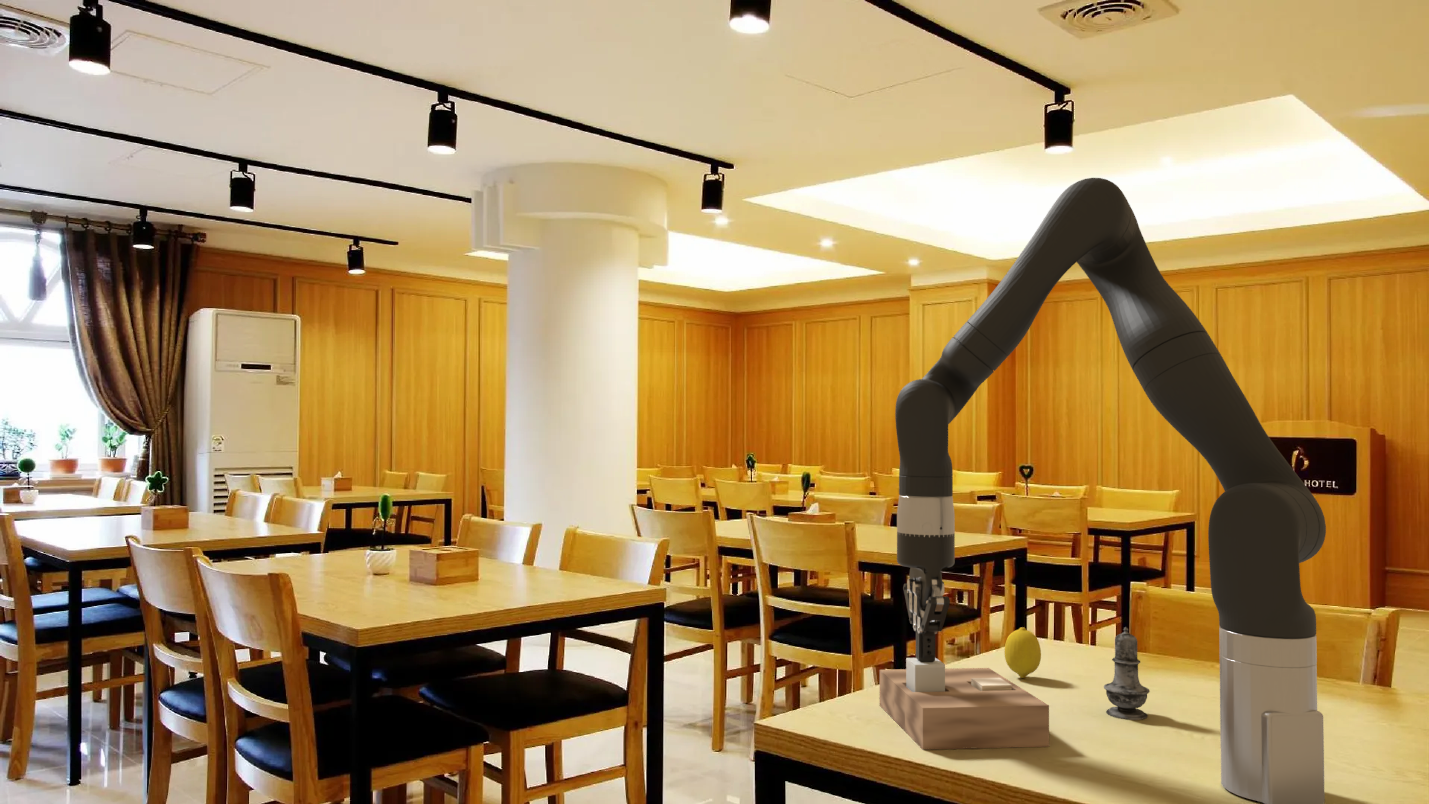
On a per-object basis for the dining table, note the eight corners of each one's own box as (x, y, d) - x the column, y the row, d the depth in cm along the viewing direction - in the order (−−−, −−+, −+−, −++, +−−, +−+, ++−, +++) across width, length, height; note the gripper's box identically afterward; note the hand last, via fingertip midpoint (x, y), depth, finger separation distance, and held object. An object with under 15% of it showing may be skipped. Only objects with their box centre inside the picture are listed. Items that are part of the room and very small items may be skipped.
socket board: (1049, 746, 122) (1049, 705, 122) (922, 749, 121) (922, 708, 121) (988, 703, 142) (988, 667, 142) (879, 705, 141) (879, 669, 141)
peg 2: (1011, 723, 130) (1011, 685, 130) (982, 724, 130) (982, 685, 130) (1000, 715, 134) (999, 677, 134) (971, 715, 134) (971, 678, 134)
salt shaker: (1154, 721, 133) (1153, 631, 134) (1108, 718, 135) (1107, 629, 135) (1144, 709, 139) (1143, 623, 140) (1100, 707, 140) (1099, 622, 141)
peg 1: (945, 703, 129) (944, 664, 130) (915, 703, 129) (915, 664, 129) (935, 695, 133) (935, 657, 133) (906, 695, 133) (906, 658, 133)
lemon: (997, 676, 159) (997, 625, 159) (1024, 672, 161) (1023, 623, 161) (1021, 683, 154) (1021, 631, 154) (1048, 680, 156) (1048, 629, 156)
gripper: (970, 535, 126) (970, 672, 125) (937, 525, 139) (937, 649, 138) (912, 535, 125) (912, 673, 124) (884, 525, 138) (884, 650, 138)
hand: (925, 660), depth 131 cm, fingers closed
